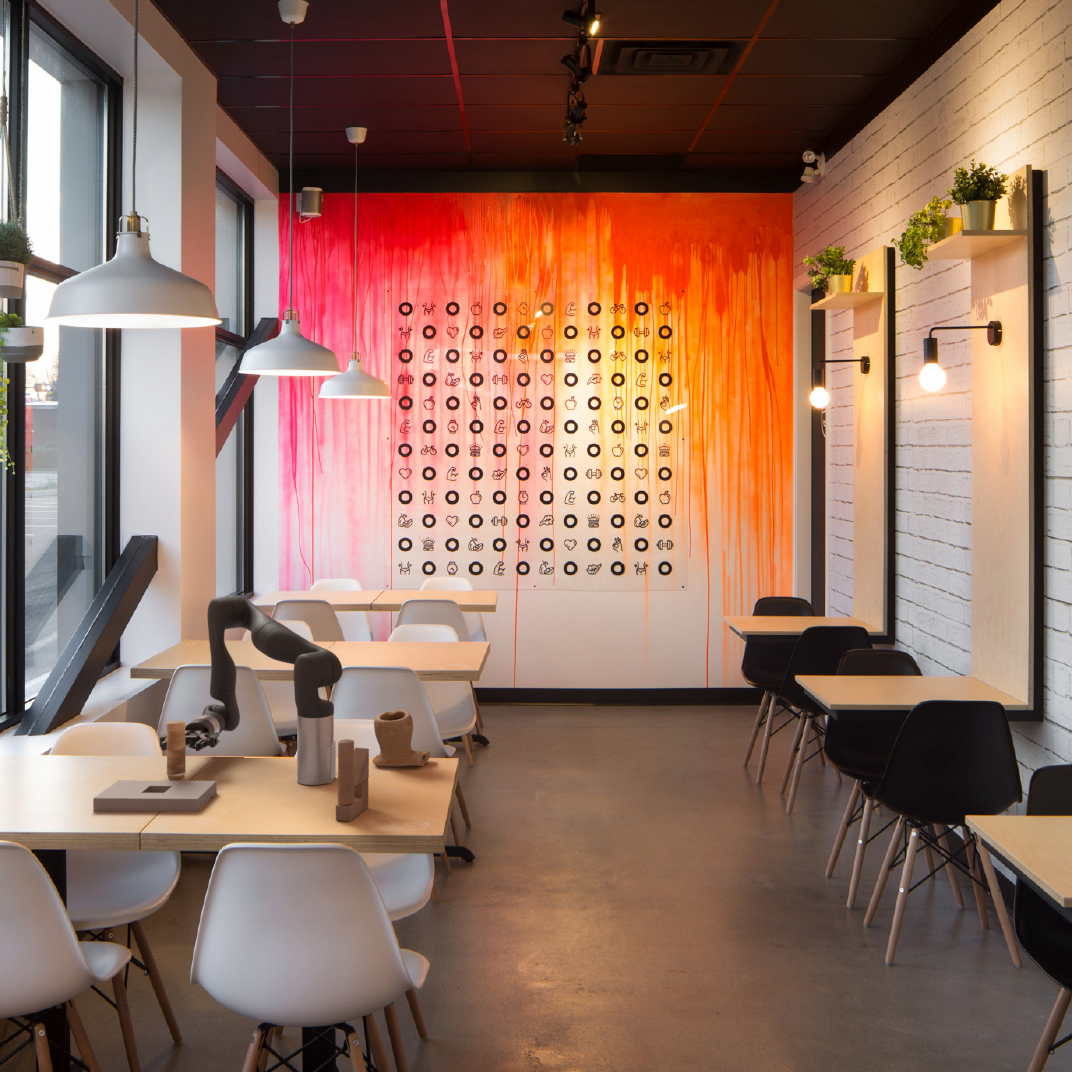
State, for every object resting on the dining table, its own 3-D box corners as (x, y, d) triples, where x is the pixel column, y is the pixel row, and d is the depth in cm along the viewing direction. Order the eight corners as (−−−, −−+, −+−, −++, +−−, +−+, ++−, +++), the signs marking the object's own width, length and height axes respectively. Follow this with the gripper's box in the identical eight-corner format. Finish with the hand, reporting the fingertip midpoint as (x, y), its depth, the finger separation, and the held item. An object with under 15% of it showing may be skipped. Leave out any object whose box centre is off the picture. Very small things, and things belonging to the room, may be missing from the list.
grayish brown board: (216, 793, 238) (216, 781, 238) (197, 811, 224) (197, 798, 224) (118, 792, 238) (118, 780, 238) (93, 811, 224) (93, 798, 224)
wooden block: (369, 807, 229) (369, 732, 228) (350, 822, 218) (350, 743, 217) (354, 806, 229) (354, 731, 229) (335, 821, 219) (335, 742, 218)
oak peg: (188, 782, 246) (188, 720, 246) (182, 788, 242) (182, 724, 241) (170, 782, 246) (170, 720, 246) (163, 788, 242) (163, 724, 241)
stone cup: (367, 771, 258) (367, 715, 258) (377, 759, 270) (377, 706, 270) (423, 773, 257) (424, 717, 257) (431, 760, 269) (431, 707, 269)
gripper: (175, 717, 263) (152, 732, 246) (227, 718, 263) (208, 732, 246) (175, 745, 263) (152, 761, 247) (227, 745, 263) (208, 761, 247)
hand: (180, 747), depth 247 cm, fingers open, 8 cm apart
